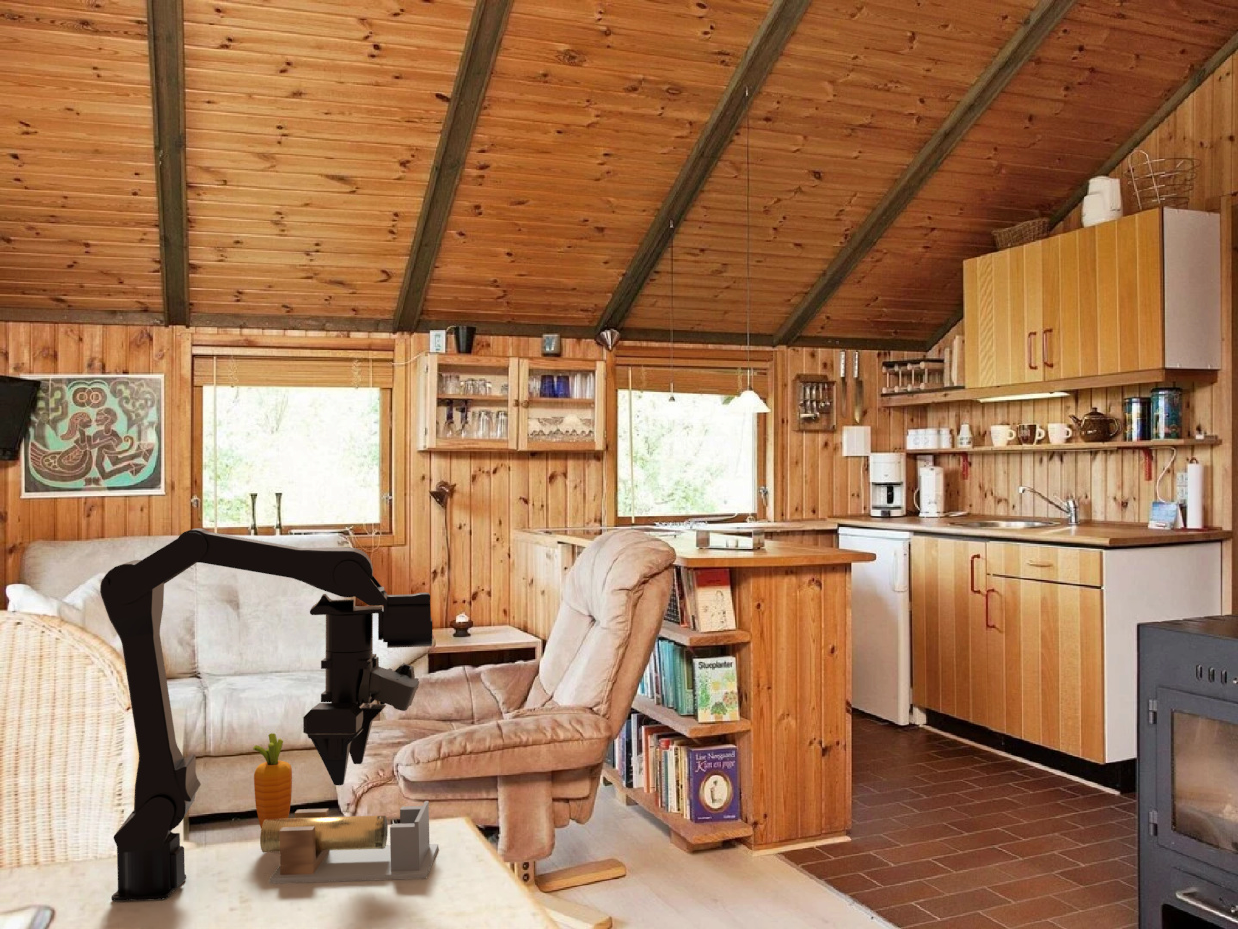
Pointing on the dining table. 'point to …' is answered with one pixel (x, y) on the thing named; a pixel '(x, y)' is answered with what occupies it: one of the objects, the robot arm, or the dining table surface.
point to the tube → (331, 832)
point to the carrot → (272, 783)
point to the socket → (410, 838)
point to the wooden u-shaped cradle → (300, 846)
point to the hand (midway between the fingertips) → (348, 774)
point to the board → (358, 867)
